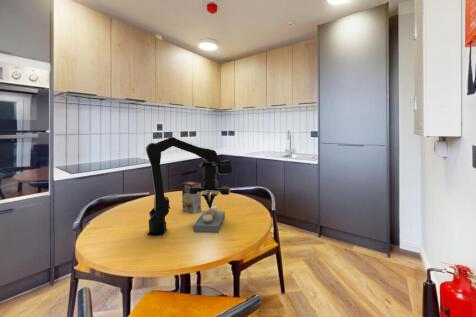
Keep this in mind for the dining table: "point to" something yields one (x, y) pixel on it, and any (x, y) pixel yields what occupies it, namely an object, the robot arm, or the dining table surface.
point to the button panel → (210, 223)
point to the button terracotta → (210, 212)
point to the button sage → (207, 218)
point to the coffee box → (191, 198)
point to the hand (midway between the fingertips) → (210, 207)
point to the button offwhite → (213, 208)
